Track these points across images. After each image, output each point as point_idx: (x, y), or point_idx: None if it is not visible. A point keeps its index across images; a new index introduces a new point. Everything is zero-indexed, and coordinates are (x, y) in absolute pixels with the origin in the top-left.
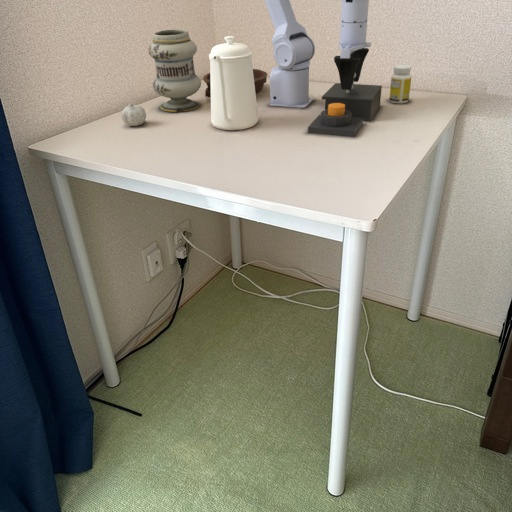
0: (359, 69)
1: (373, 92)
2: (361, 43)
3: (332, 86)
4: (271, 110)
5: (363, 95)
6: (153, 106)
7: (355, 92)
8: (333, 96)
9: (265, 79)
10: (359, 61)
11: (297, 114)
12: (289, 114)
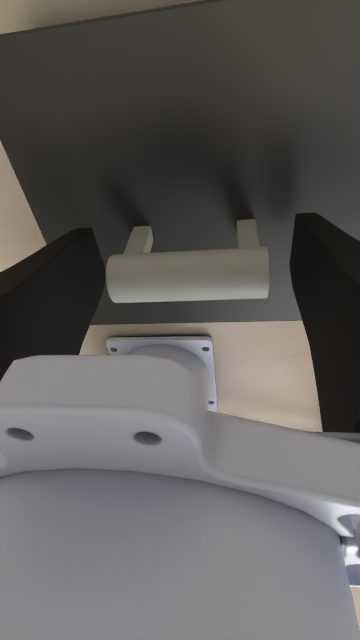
0: (57, 267)
1: (193, 41)
2: (266, 521)
3: (145, 322)
4: (251, 394)
5: (302, 100)
6: None
7: (227, 185)
8: None
9: None
10: (33, 311)
11: (277, 336)
12: (282, 353)
